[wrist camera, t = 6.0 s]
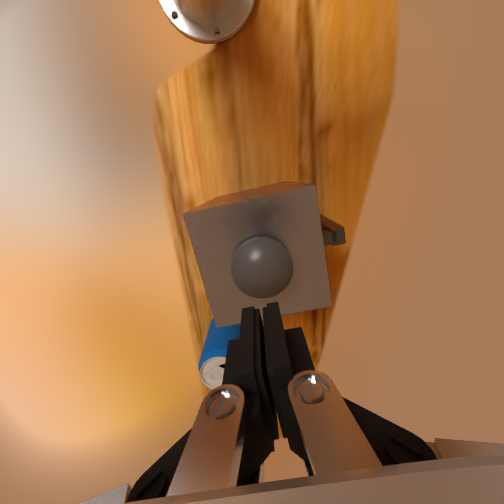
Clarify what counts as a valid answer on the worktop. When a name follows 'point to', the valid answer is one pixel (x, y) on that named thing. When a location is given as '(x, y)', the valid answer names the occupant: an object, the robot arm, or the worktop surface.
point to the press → (269, 224)
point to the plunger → (262, 267)
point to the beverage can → (216, 353)
